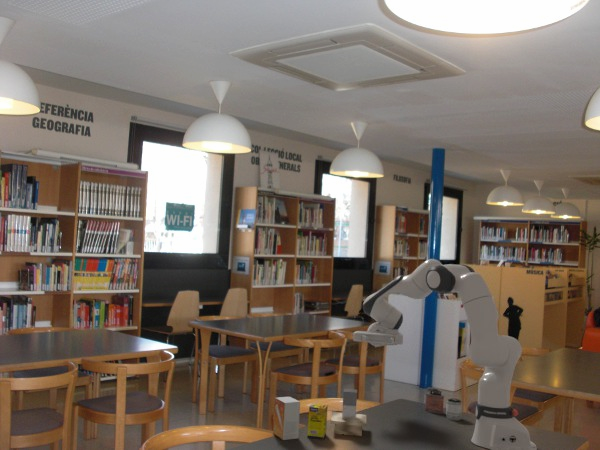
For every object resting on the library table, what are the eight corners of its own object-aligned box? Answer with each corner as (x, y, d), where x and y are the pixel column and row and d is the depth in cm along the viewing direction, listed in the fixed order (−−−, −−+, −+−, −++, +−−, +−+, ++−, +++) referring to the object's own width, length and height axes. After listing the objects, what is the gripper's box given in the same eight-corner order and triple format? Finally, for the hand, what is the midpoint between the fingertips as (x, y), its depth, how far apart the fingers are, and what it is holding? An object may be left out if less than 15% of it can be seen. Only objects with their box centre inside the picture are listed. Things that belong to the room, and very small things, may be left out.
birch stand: (365, 427, 247) (366, 414, 247) (365, 437, 234) (366, 423, 234) (331, 425, 248) (332, 411, 248) (329, 434, 235) (330, 420, 235)
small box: (272, 433, 232) (274, 397, 233) (288, 432, 235) (290, 396, 236) (282, 440, 225) (284, 402, 226) (298, 438, 228) (300, 401, 229)
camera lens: (450, 415, 273) (451, 397, 273) (464, 419, 269) (464, 399, 269) (443, 418, 268) (444, 399, 268) (456, 421, 264) (457, 402, 264)
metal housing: (355, 416, 243) (357, 389, 244) (355, 419, 238) (357, 392, 239) (342, 415, 244) (343, 388, 244) (342, 418, 239) (343, 391, 239)
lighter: (444, 412, 277) (445, 389, 278) (441, 414, 275) (442, 390, 275) (426, 409, 282) (427, 386, 282) (423, 410, 279) (424, 387, 279)
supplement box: (323, 439, 229) (325, 408, 229) (307, 437, 230) (308, 406, 230) (326, 435, 234) (328, 404, 235) (310, 433, 236) (311, 403, 236)
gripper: (353, 326, 274) (352, 330, 260) (402, 329, 272) (404, 334, 258) (352, 341, 274) (351, 346, 260) (401, 344, 272) (403, 349, 258)
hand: (378, 340), depth 259 cm, fingers open, 8 cm apart
